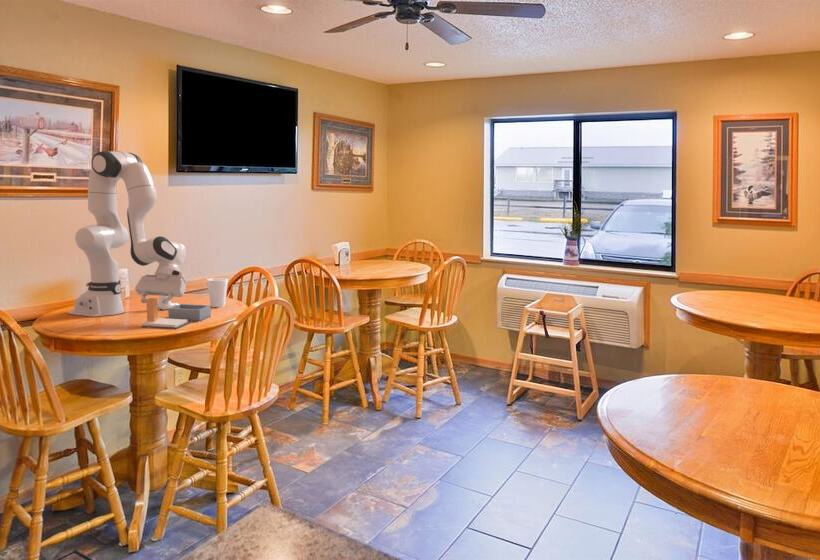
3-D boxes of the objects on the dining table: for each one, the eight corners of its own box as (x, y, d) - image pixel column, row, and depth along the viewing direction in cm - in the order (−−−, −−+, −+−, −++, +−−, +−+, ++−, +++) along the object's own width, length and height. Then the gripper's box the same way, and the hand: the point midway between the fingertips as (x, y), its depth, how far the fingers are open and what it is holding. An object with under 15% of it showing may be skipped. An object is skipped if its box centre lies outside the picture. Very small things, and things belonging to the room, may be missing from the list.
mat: (141, 327, 239) (141, 325, 239) (156, 321, 250) (156, 319, 250) (176, 329, 237) (176, 327, 237) (190, 323, 248) (190, 321, 248)
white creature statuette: (180, 307, 279) (179, 282, 277) (170, 311, 270) (169, 285, 268) (162, 306, 280) (160, 281, 278) (151, 310, 272) (150, 284, 270)
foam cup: (232, 306, 285) (231, 279, 283) (216, 309, 277) (216, 281, 275) (219, 303, 290) (218, 277, 288) (203, 306, 282) (202, 279, 280)
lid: (142, 325, 240) (141, 301, 238) (156, 320, 249) (155, 296, 248) (175, 327, 238) (174, 302, 236) (187, 321, 248) (186, 298, 246)
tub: (168, 319, 253) (168, 308, 252) (180, 315, 263) (180, 303, 262) (199, 321, 251) (199, 310, 250) (210, 316, 261) (210, 305, 260)
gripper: (140, 270, 251) (126, 296, 243) (185, 272, 249) (173, 300, 241) (146, 278, 256) (133, 305, 248) (191, 281, 254) (179, 308, 246)
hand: (153, 302), depth 245 cm, fingers open, 8 cm apart
